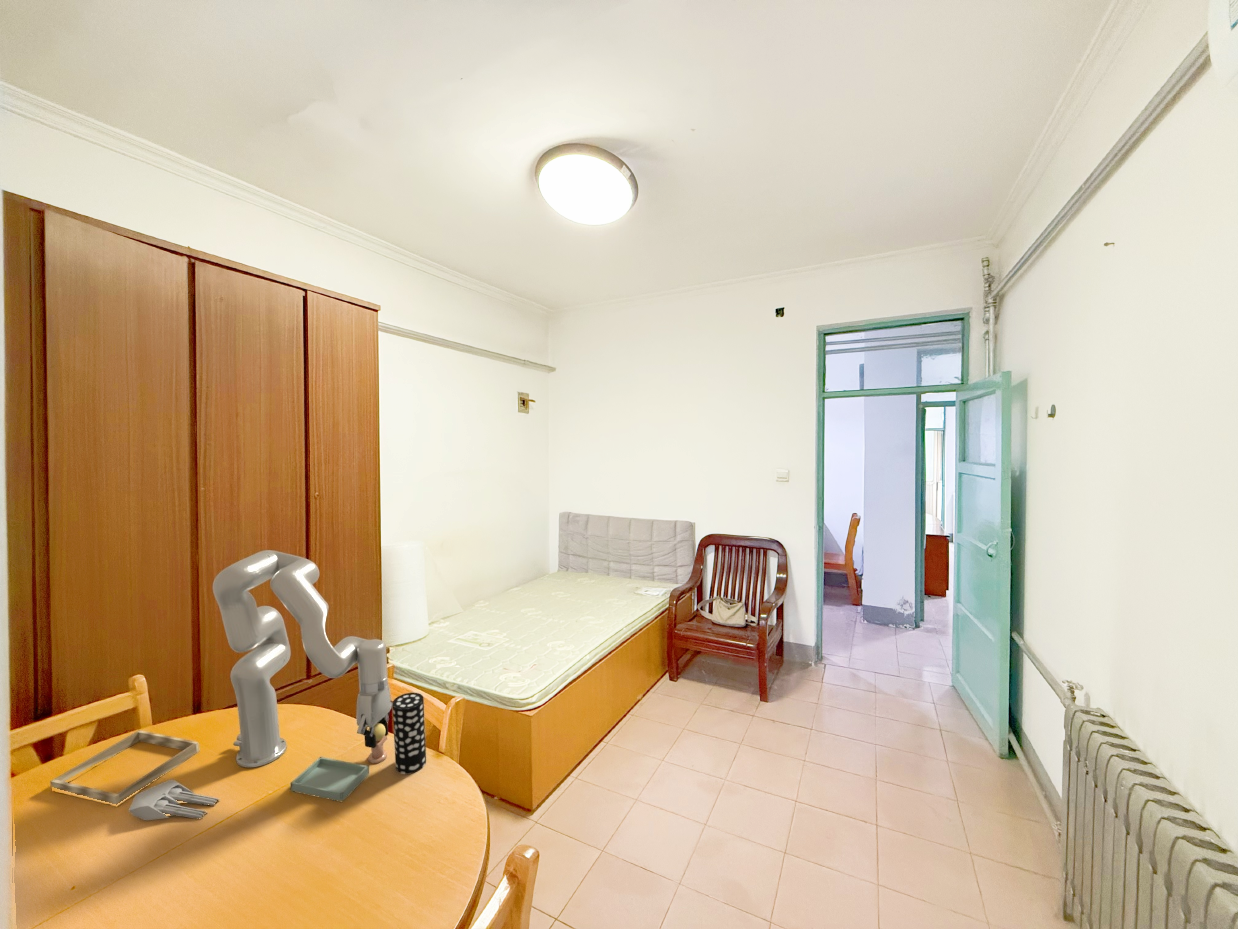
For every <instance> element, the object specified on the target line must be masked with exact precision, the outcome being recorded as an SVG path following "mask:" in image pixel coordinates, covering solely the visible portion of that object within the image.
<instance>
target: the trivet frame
mask: <svg viewBox="0 0 1238 929" xmlns="http://www.w3.org/2000/svg"><path fill="white" fill-rule="evenodd" d="M138 742H142V743H143V742H144V743H147V744H153V745H157V746H161V747H166V748H171V749H174V750H175V749H176V750H181V751H179V752H178V753H177V754H176V755H174V756H172V757H171V758H169V759H168V760H165V762H163V763H161V764H160V765H158V766H157V767H156V768H154V769H152V770H151V771H149V772H148V773H147V774H145V775H144V776H142V777H140V778H138V779H137V780H136V781H134V782H132V783H131V784H129V785H128V786H126V787H125V788H124V789H122V790H120V791H118V792H117V793H114V792H109V791H104V790H100V789H97V788H93V787H88V786H86V785H85V786H84V785H80V784H76V783H72V782H70V783H68V782H65V781H66V780H68V779H70V778H71V777H73V776H75V775H76V774H78V773H80V772H82V771H84V770H86V769H87V768H89V767H92V766H93V765H95V764H97V763H99V762H101V761H103V760H106V759H108V758H110V757H112V756H113V757H115V756H117V755H118V754H117V753H119V752H120V753H121V751H122V752H123V750H124V751H126V750H127V749H129V748H130V747H132V746H134V745H135V744H137V743H138ZM199 743H200V742H198V741H194V740H190V739H185V738H179V737H175V736H170V735H165V734H161V733H157V732H156V733H154V732H151V731H145V730H137V731H135V732H133V733H131V734H129V735H128V736H127V737H124V738H122V739H121V740H120V741H118V742H115V743H114V744H113V745H111V746H109V747H106V748H105V749H104V750H102V751H100V752H98V753H97V754H94V755H93V756H91V757H89V758H88V759H86V760H85V761H82V762H81V763H79V764H77V765H75V766H74V767H72V768H70V769H69V770H67V771H65V772H64V773H62V774H60V775H58V776H57V777H54V778H53V779H52V780H50V782H49V784H50V788H51V787H54V788H57V789H60V790H64V791H68V792H71V793H75V794H77V795H83V796H87V797H89V798H93V799H97V800H101V801H105V802H109V803H112V804H116V805H117V804H118V803H120V802H121V801H123V800H124V799H126V798H127V797H129V796H130V795H132V794H133V793H135V792H136V791H138V790H140V789H141V788H143V787H145V786H146V785H148V784H149V783H151V782H152V781H153V780H155V779H157V778H158V777H160V776H161V775H163V774H165V773H166V772H168V771H170V770H171V771H173V770H174V769H175V767H176V768H178V766H181V764H183V763H184V762H186V761H187V760H189V759H190V758H191V757H192V758H193V756H195V755H196V754H199V752H200V744H199ZM126 748H127V749H126ZM120 753H119V754H120ZM116 754H117V755H116ZM114 755H115V756H114ZM113 757H112V758H113ZM110 759H111V758H110ZM108 760H109V759H108ZM173 768H174V769H173ZM172 769H173V770H172ZM171 771H170V772H171ZM168 773H169V772H168ZM165 775H166V774H165Z"/></svg>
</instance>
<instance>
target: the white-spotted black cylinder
mask: <svg viewBox="0 0 1238 929" xmlns="http://www.w3.org/2000/svg"><path fill="white" fill-rule="evenodd" d="M424 698H425V697H424V696H423V695H422V694H421V693H419V692H406V693H404V694H400V695H398V696H396V698H394V699H393V701H392V719H393V720H392V723H393V741H394V742H393V745H394V760H395V762H394V764H395V770H396V771H397V772H398V773H400V774H402V775H410V774H415V773H417V772H419V771H420V770H422V769H423V768H424V767H425V765H426V763H427V748H426V730H425V729H426V727H425V724H426V723H425V702H424Z"/></svg>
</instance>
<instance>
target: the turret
mask: <svg viewBox="0 0 1238 929" xmlns="http://www.w3.org/2000/svg"><path fill="white" fill-rule="evenodd" d="M176 800H177V801H183V802H188V803H187V804H192V803H193V804H197V805H202V804H204V805H203V806H207V805H208V804H209V805H215V806H216V804H214V803H216V802H217V803H218V801H216V800H220V799H219V798H217V797H213V796H207V795H202V794H197V793H195V792H193V791H192V790H190V789H189V788H188V787H186V786H184V785H183V784H181V783H180V782H179V781H176V780H175V779H173V778H171V779H169V780H166V781H164V782H161V783H159V784H156V785H154V786H151V787H150V788H148V789H144V790H142V791H140V792H139V793H137V794H136V795H134V798H133V799H132V802H131V804H130V806H129V809H128V812H129V813H130V814H131V815H133V817H136V818H137V819H138V818H139V819H140V820H144V821H151V820H154V821H155V820H160V819H169V818H170V817H168V816H166V815H165V814H170V815H176V816H175V817H177V816H179V817H186V818H191V819H195V818H198V819H197V820H200V819H199V818H202V819H203V817H202V816H203V815H204V816H205V814H204V813H207V814H208V811H206V810H205V809H204V810H202V809H196V808H192V807H188V806H181V804H180V803H178V802H177V801H176ZM163 813H165V814H163Z"/></svg>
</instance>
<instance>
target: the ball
mask: <svg viewBox="0 0 1238 929" xmlns="http://www.w3.org/2000/svg"><path fill="white" fill-rule="evenodd" d="M367 730H368V731H370V728H369V727H368V728H367ZM385 733H386V729H385V726H384V725H383V724H381V723H377V724H375V727H374V734H375V738H376V742H377V741H380V740H381V739H382V738H383V737H384V736H385Z"/></svg>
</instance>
